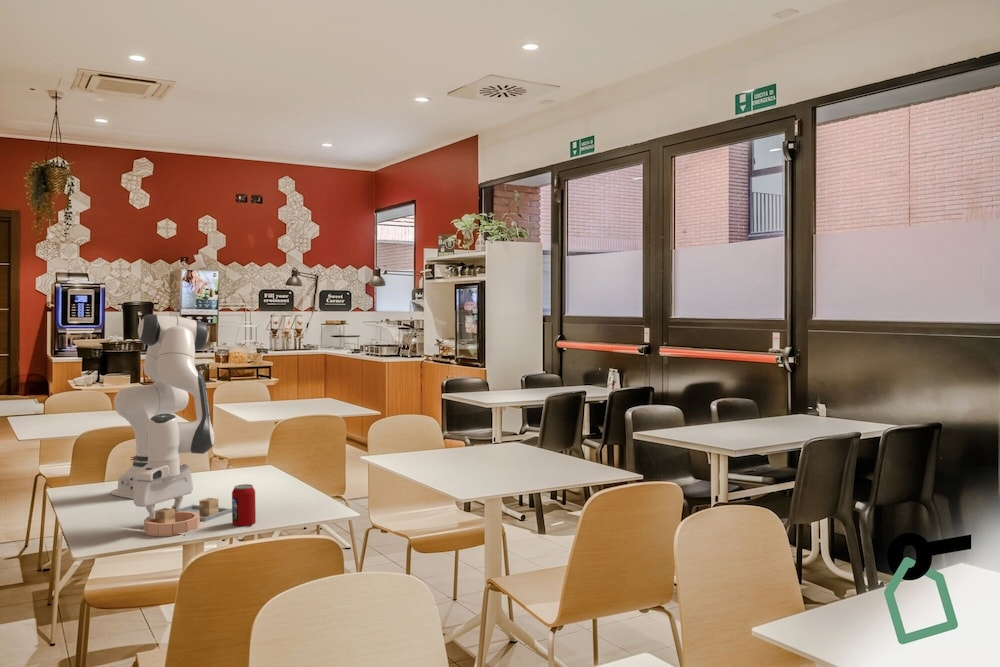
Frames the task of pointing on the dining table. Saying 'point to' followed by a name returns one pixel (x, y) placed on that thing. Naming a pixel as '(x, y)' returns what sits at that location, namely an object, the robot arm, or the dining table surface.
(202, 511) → the block right
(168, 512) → the block left
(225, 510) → the tray
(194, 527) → the bowl
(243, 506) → the beverage can
